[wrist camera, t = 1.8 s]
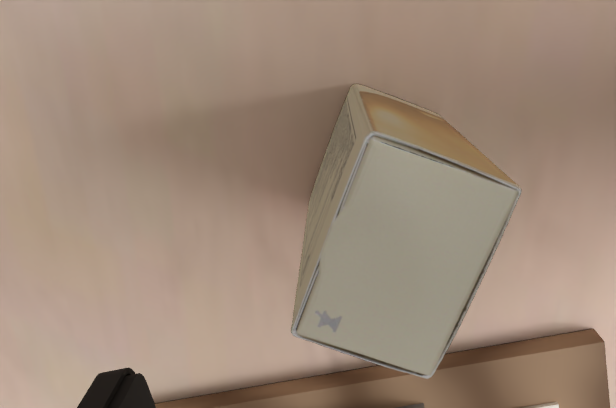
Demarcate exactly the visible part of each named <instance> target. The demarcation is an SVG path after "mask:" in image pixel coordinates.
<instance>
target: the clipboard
mask: <svg viewBox="0 0 616 408" xmlns="http://www.w3.org/2000/svg"><path fill="white" fill-rule="evenodd" d="M155 406H156V408H610V402H609V391H608V379H607V367H606V356H605V344H604V341H603V340H602V338H601V337H600V336H599V335H598V333H597V332H596V331H595V330H594V329H589V330H584V331H578V332H572V333H566V334H560V335H554V336H548V337H543V338H537V339H531V340H525V341H519V342H513V343H507V344H502V345H496V346H490V347H484V348H478V349H472V350H467V351H461V352H455V353H449V354H445V355H444V357H443V359H442V361H441V362H440V364H439V365H438V367H437V369H436V371H435V373H434V374H433V376H432V377H431V378H428V379H426V378H421V377H418V376H415V375H412V374H409V373H405V372H400V371H397V370H394V369H390V368H387V367H384V366H381V365H379V366H373V367H367V368H361V369H355V370H350V371H344V372H338V373H332V374H326V375H320V376H314V377H309V378H303V379H297V380H291V381H285V382H279V383H274V384H268V385H262V386H256V387H250V388H244V389H238V390H233V391H227V392H221V393H215V394H209V395H203V396H198V397H192V398H186V399H180V400H174V401H168V402H162V403H157V404H155Z"/></svg>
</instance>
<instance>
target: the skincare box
mask: <svg viewBox="0 0 616 408" xmlns="http://www.w3.org/2000/svg"><path fill="white" fill-rule="evenodd" d="M520 194H521V188H520V187H519V186H518V185H517V184H516V183H515V182H514V181H512V180H511V179H510V178H509V177H508V176H507V175H506V174H505V173H503V172H502V171H501V170H500V169H499V168H498V167H497V166H495V165H494V164H493V163H492V162H491V161H490V160H489V159H488V158H487V157H486V156H485V155H483V154H482V153H481V152H480V151H479V150H478V149H477V148H475V147H474V146H473V145H472V144H471V143H470V142H469V141H468V140H467V139H466V138H465V137H463V136H462V135H461V134H460V133H459V132H458V131H456V130H455V129H454V128H453V127H452V126H451V125H450V124H449V123H447V122H446V121H445V120H444V119H443V118H442V117H441V116H440V115H438V114H437V113H434V112H431V111H429V110H427V109H424V108H422V107H419V106H417V105H414V104H412V103H409V102H406V101H404V100H401V99H399V98H396V97H393V96H391V95H388V94H386V93H383V92H380V91H377V90H374V89H371V88H369V87H366V86H363V85H360V84H353V85H352V86H351V88H350V90H349V92H348V95H347V97H346V99H345V102H344V104H343V107H342V109H341V112H340V115H339V117H338V120H337V122H336V125H335V128H334V130H333V133H332V136H331V138H330V141H329V144H328V147H327V150H326V152H325V155H324V158H323V161H322V164H321V167H320V170H319V173H318V175H317V178H316V181H315V184H314V188H313V191H312V194H311V197H310V200H309V204H308V212H307V219H306V227H305V234H304V241H303V249H302V256H301V263H300V269H299V277H298V284H297V291H296V298H295V305H294V313H293V321H292V327H291V333H292V335H293V336H295V337H298V338H301V339H304V340H307V341H310V342H313V343H316V344H319V345H321V346H324V347H327V348H330V349H333V350H336V351H339V352H341V353H344V354H348V355H351V356H354V357H357V358H360V359H363V360H365V361H368V362H371V363H374V364H378V365H381V366H384V367H387V368H390V369H394V370H397V371H400V372H405V373H409V374H412V375H415V376H418V377H421V378H426V379H428V378H431V377H432V376H433V374H434V373H435V371H436V369H437V367H438V365H439V364H440V362H441V361H442V359H443V357H444V355H445V353H446V351H447V350H448V348H449V346H450V344H451V342H452V340H453V338H454V337H455V335H456V333H457V331H458V329H459V327H460V325H461V323H462V321H463V319H464V317H465V315H466V313H467V311H468V309H469V306H470V304H471V302H472V300H473V298H474V296H475V294H476V292H477V290H478V288H479V285H480V283H481V281H482V279H483V277H484V275H485V273H486V271H487V269H488V266H489V264H490V262H491V260H492V257H493V255H494V253H495V251H496V249H497V247H498V245H499V242H500V240H501V238H502V235H503V233H504V230H505V228H506V226H507V224H508V222H509V220H510V217H511V215H512V212H513V210H514V208H515V206H516V203H517V201H518V199H519V197H520Z"/></svg>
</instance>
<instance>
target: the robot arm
mask: <svg viewBox="0 0 616 408" xmlns="http://www.w3.org/2000/svg"><path fill="white" fill-rule="evenodd" d="M77 408H156V406H155V404H154V401H153V398H152V396H151V393H150V390H149V388H148V385H147V382H146V380H145V378H144V376H143V375H142V374H140V373H139V374H135V372H134V371H133V370H132V369H131V368H124V369H119V370H114V371H108V372H103V373H100V374H98V375H97V377H96V378H95V380H94V381H93V383H92V385H91V386H90V388H89V389H88V391H87V393H86V394H85V396H84V397H83V399H82V401H81V402H80V404H79V406H78V407H77Z"/></svg>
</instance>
